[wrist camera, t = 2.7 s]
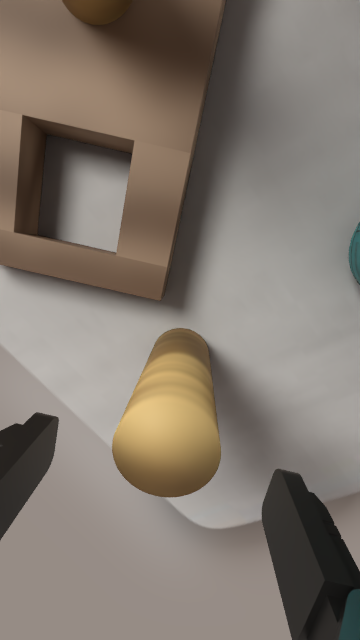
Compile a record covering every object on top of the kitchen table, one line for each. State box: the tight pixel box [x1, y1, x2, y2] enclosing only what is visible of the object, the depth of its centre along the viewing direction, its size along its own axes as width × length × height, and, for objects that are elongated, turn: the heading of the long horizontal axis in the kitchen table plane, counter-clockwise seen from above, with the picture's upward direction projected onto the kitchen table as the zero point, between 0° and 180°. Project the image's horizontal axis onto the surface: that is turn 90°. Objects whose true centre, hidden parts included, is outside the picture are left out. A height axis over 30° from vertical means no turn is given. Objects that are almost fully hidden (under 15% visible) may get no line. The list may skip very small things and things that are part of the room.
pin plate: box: [0, 0, 226, 301], centre depth 11 cm, size 18×12×12 cm, turn 168°
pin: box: [112, 328, 221, 497], centre depth 15 cm, size 4×4×10 cm
